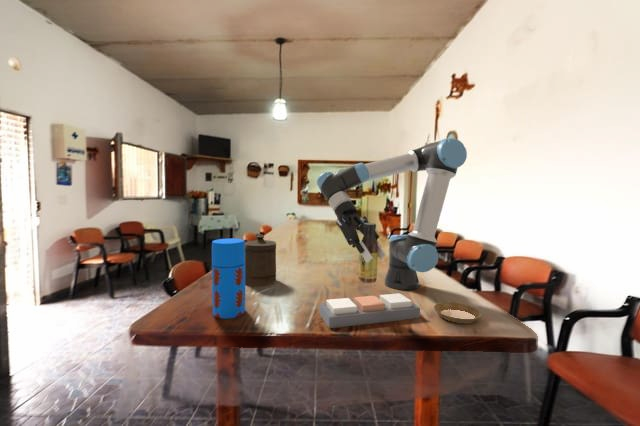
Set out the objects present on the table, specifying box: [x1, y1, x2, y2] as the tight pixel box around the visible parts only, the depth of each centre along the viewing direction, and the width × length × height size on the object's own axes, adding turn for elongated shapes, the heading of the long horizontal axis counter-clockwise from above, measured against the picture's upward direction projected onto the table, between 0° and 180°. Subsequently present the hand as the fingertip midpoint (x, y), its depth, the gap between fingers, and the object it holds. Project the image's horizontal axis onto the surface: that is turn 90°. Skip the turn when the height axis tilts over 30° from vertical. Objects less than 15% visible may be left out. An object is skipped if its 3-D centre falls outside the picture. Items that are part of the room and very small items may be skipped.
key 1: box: [325, 297, 357, 315], centre depth 101 cm, size 8×8×2 cm
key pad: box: [318, 297, 421, 329], centre depth 104 cm, size 32×12×4 cm, turn 105°
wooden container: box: [245, 233, 277, 287], centre depth 141 cm, size 15×15×22 cm
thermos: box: [211, 237, 246, 320], centre depth 105 cm, size 11×11×25 cm
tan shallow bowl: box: [433, 302, 482, 324], centre depth 104 cm, size 15×15×3 cm
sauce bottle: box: [358, 222, 379, 284], centre depth 103 cm, size 7×6×20 cm
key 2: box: [379, 293, 413, 309], centre depth 107 cm, size 8×8×2 cm
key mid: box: [353, 295, 385, 312], centre depth 104 cm, size 8×8×2 cm
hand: (376, 258), depth 101 cm, fingers closed on sauce bottle, 6 cm apart
